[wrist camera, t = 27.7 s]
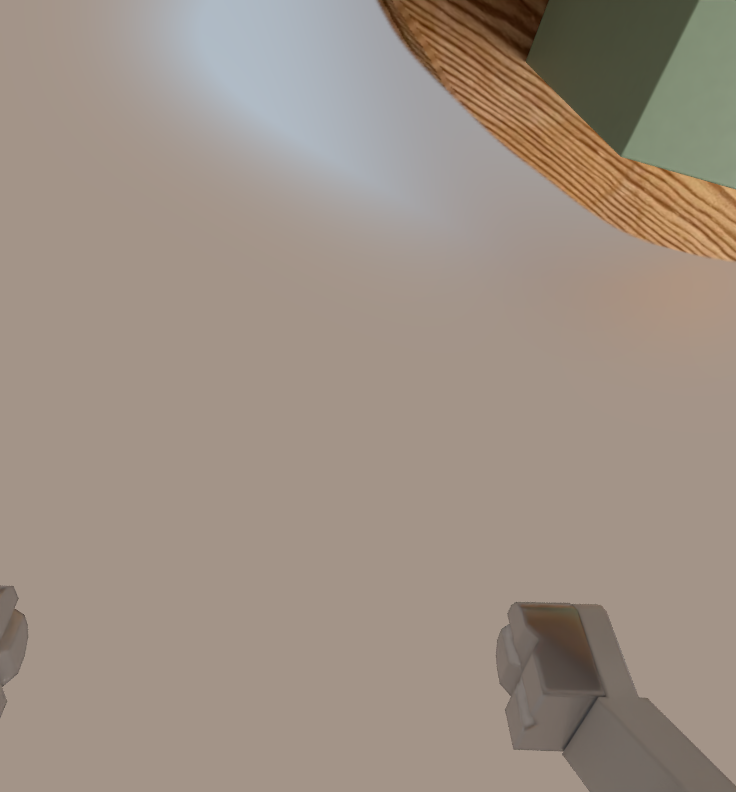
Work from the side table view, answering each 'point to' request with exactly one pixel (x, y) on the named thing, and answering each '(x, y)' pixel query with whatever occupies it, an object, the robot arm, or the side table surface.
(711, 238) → the side table surface
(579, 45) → the stand
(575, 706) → the robot arm
